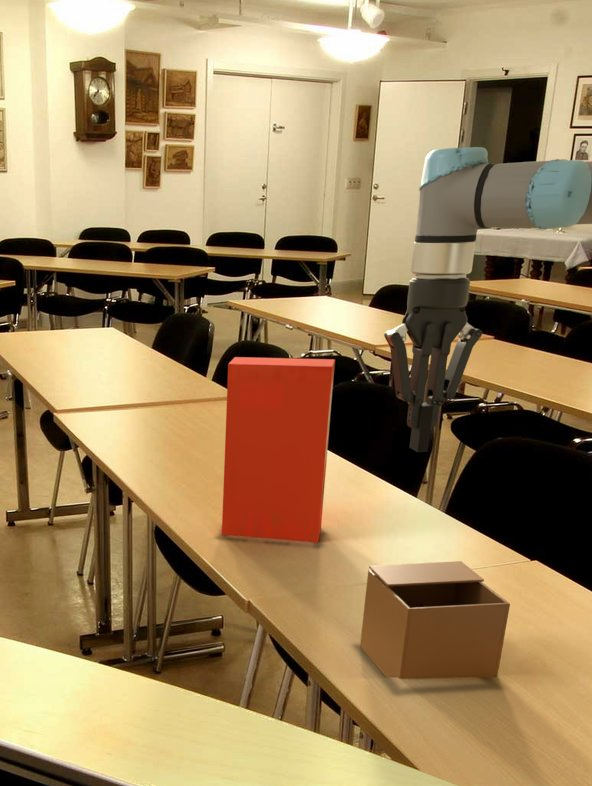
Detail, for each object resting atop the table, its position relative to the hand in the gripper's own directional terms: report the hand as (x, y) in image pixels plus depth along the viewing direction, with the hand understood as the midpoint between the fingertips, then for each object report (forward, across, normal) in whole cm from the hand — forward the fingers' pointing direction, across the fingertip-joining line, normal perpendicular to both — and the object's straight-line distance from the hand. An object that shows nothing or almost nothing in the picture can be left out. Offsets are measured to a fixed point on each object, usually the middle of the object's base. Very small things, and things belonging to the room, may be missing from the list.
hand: (418, 449), depth 130 cm
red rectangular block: (+25, +10, -34) cm, 43 cm away
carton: (+24, +4, +19) cm, 31 cm away
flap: (+13, +4, +16) cm, 21 cm away
